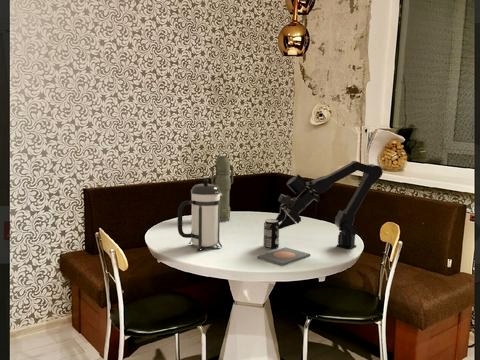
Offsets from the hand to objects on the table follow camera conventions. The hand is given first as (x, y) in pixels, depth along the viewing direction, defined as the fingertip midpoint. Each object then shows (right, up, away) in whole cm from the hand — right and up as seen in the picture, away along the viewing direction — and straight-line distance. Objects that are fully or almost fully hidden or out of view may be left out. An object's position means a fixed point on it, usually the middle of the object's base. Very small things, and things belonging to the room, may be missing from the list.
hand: (276, 225), depth 200 cm
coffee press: (-32, -9, -1) cm, 33 cm away
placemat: (+2, -12, -13) cm, 17 cm away
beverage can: (-2, -10, +1) cm, 10 cm away
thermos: (-26, -2, +51) cm, 57 cm away
